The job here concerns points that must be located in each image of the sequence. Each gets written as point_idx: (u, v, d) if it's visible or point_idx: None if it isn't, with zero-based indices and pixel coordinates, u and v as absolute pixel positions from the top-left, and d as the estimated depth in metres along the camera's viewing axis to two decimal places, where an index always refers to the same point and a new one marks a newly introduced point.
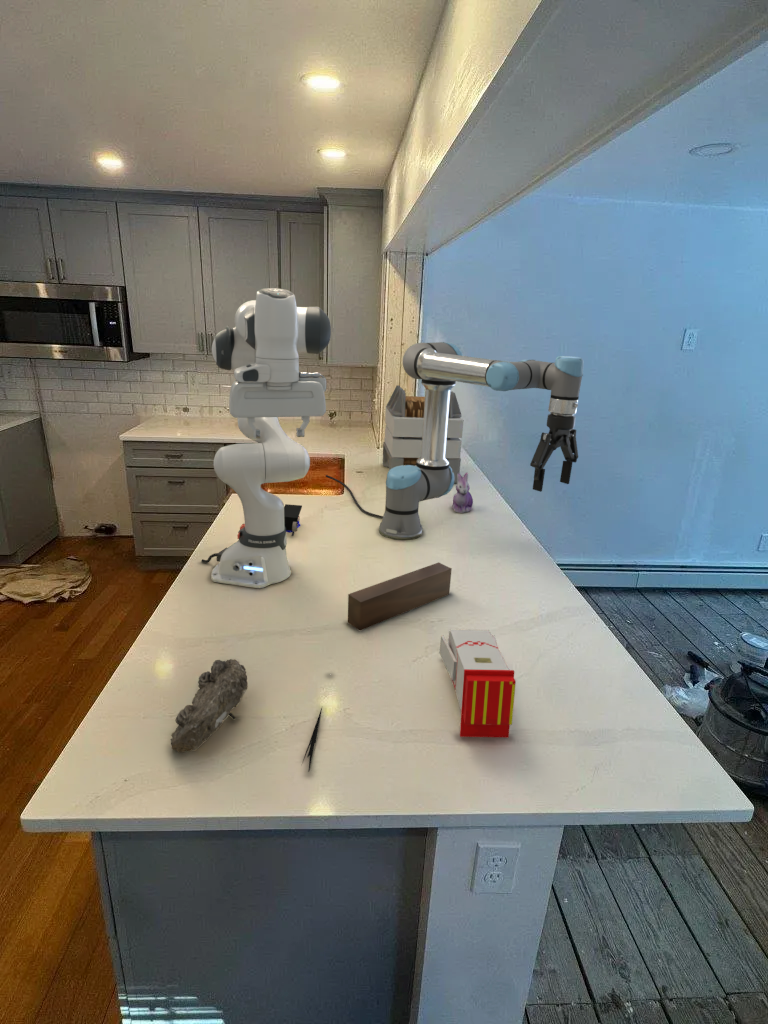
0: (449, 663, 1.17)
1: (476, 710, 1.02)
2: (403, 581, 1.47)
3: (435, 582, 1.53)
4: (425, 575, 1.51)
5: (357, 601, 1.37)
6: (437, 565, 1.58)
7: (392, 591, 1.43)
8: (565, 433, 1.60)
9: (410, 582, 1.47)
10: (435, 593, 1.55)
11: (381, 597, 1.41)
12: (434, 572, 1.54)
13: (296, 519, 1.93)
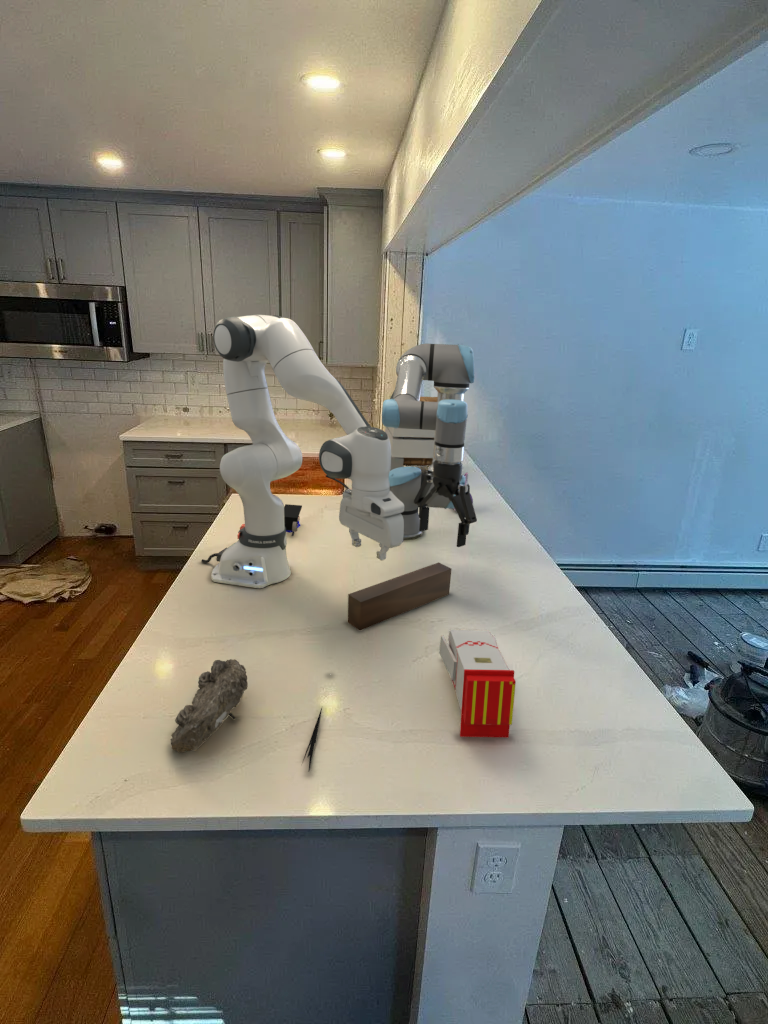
0: (449, 663, 1.17)
1: (476, 710, 1.02)
2: (403, 581, 1.47)
3: (435, 582, 1.53)
4: (425, 575, 1.51)
5: (357, 601, 1.37)
6: (437, 565, 1.58)
7: (392, 591, 1.43)
8: (447, 483, 1.46)
9: (410, 582, 1.47)
10: (435, 593, 1.55)
11: (381, 597, 1.41)
12: (434, 572, 1.54)
13: (296, 519, 1.93)
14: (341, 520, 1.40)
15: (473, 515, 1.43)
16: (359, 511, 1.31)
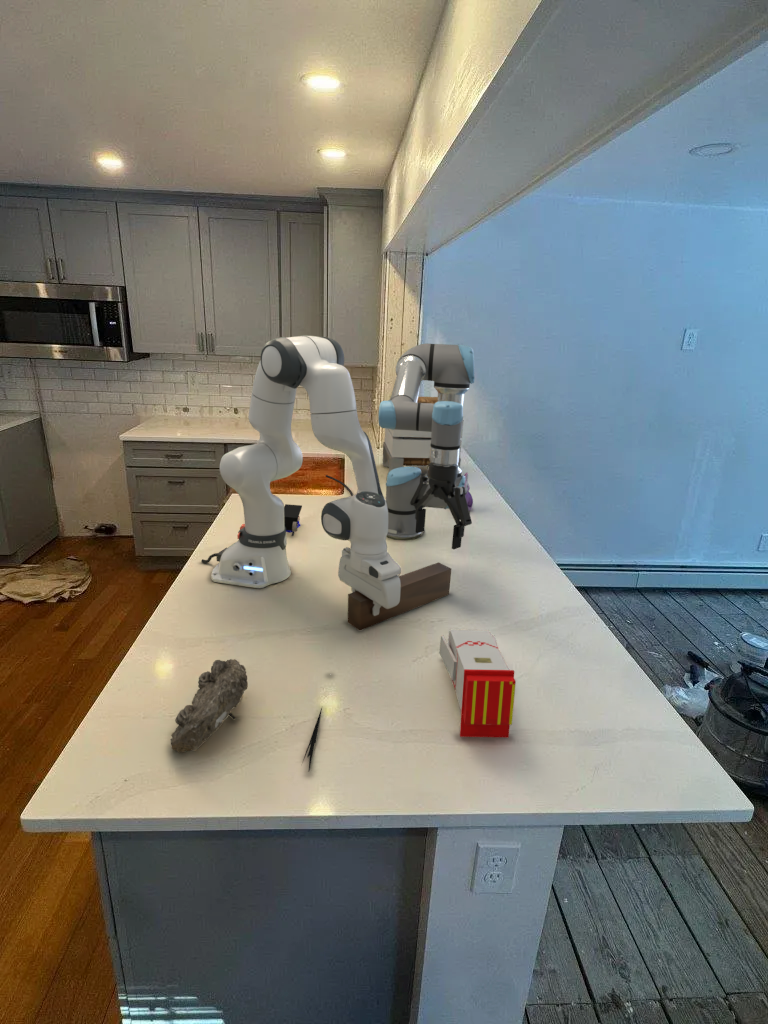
0: (449, 663, 1.17)
1: (476, 710, 1.02)
2: (403, 581, 1.47)
3: (435, 582, 1.53)
4: (425, 575, 1.51)
5: (357, 601, 1.37)
6: (437, 565, 1.58)
7: None
8: (443, 485, 1.45)
9: (410, 582, 1.47)
10: (435, 593, 1.55)
11: None
12: (434, 572, 1.54)
13: (296, 519, 1.93)
14: (340, 577, 1.45)
15: (468, 517, 1.43)
16: (357, 572, 1.36)
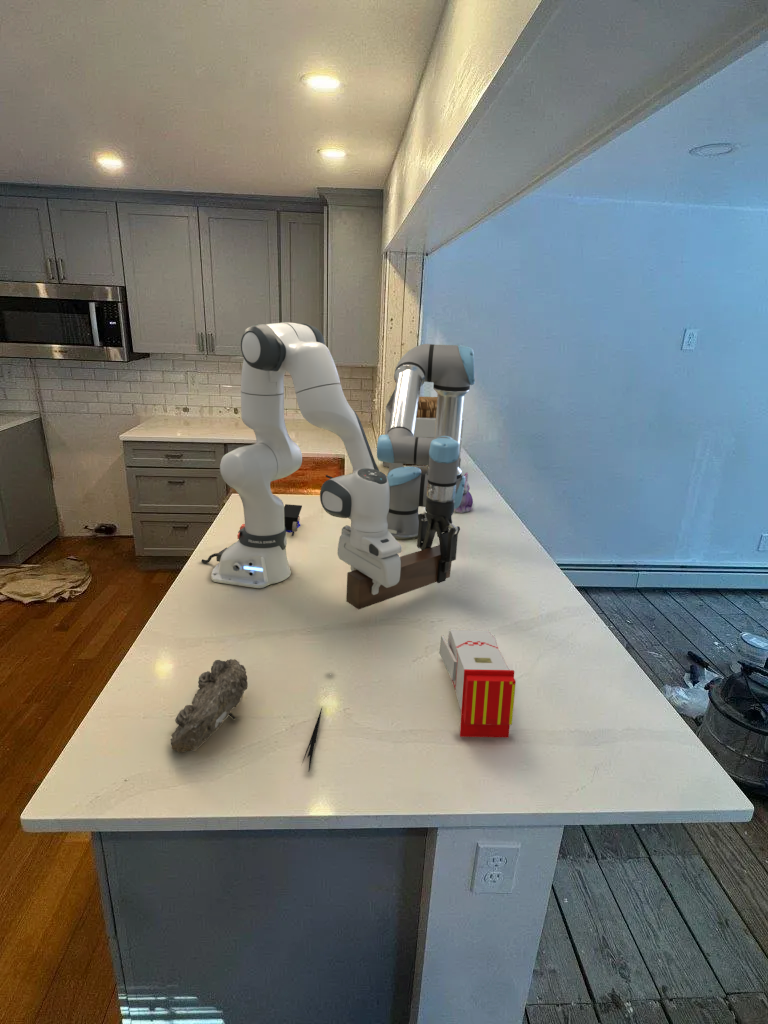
0: (449, 663, 1.17)
1: (476, 710, 1.02)
2: (403, 562, 1.46)
3: (435, 564, 1.51)
4: (426, 556, 1.50)
5: (356, 579, 1.36)
6: (438, 547, 1.56)
7: None
8: (440, 521, 1.49)
9: (410, 563, 1.46)
10: (435, 576, 1.53)
11: None
12: (435, 553, 1.52)
13: (296, 519, 1.93)
14: (339, 555, 1.43)
15: (454, 555, 1.49)
16: (357, 550, 1.35)
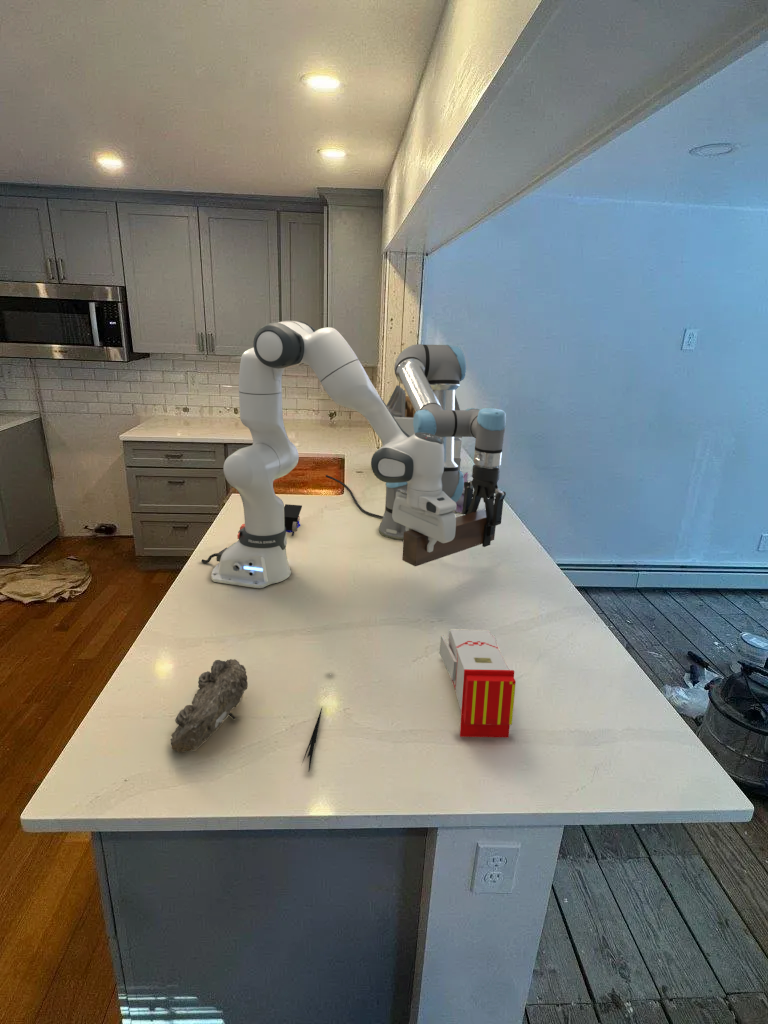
0: (449, 663, 1.17)
1: (476, 710, 1.02)
2: None
3: (482, 526, 1.60)
4: (473, 519, 1.58)
5: (413, 537, 1.44)
6: (483, 511, 1.65)
7: None
8: (487, 487, 1.57)
9: (460, 524, 1.54)
10: (481, 537, 1.61)
11: None
12: (481, 516, 1.61)
13: (296, 519, 1.93)
14: (394, 517, 1.52)
15: (499, 519, 1.58)
16: (414, 509, 1.43)
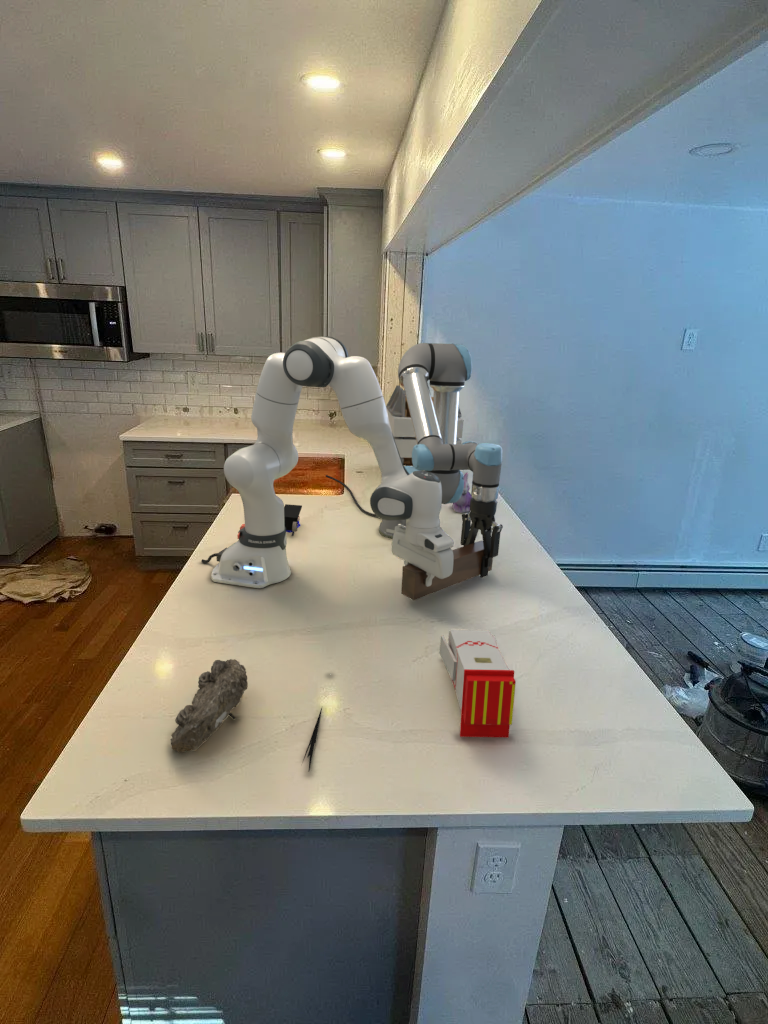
0: (449, 663, 1.17)
1: (476, 710, 1.02)
2: None
3: (479, 557, 1.63)
4: (471, 551, 1.62)
5: (412, 572, 1.48)
6: (480, 542, 1.68)
7: None
8: (484, 519, 1.61)
9: (458, 557, 1.57)
10: (479, 569, 1.65)
11: None
12: (479, 548, 1.64)
13: (296, 519, 1.93)
14: (393, 551, 1.55)
15: (496, 551, 1.62)
16: (412, 545, 1.47)
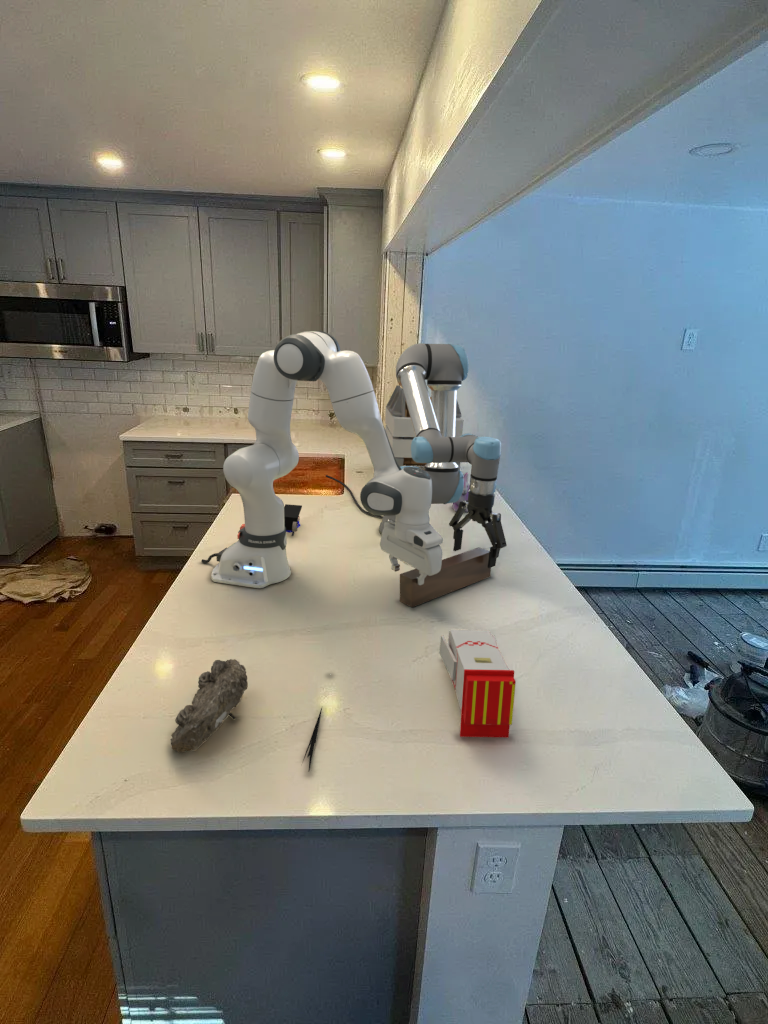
0: (449, 663, 1.17)
1: (476, 710, 1.02)
2: (448, 563, 1.59)
3: (477, 564, 1.64)
4: (468, 557, 1.63)
5: (409, 579, 1.49)
6: (478, 549, 1.69)
7: (439, 571, 1.54)
8: (481, 511, 1.63)
9: (455, 563, 1.59)
10: (477, 575, 1.66)
11: (430, 576, 1.52)
12: (476, 554, 1.65)
13: (296, 519, 1.93)
14: (382, 547, 1.55)
15: (503, 541, 1.61)
16: (401, 541, 1.46)
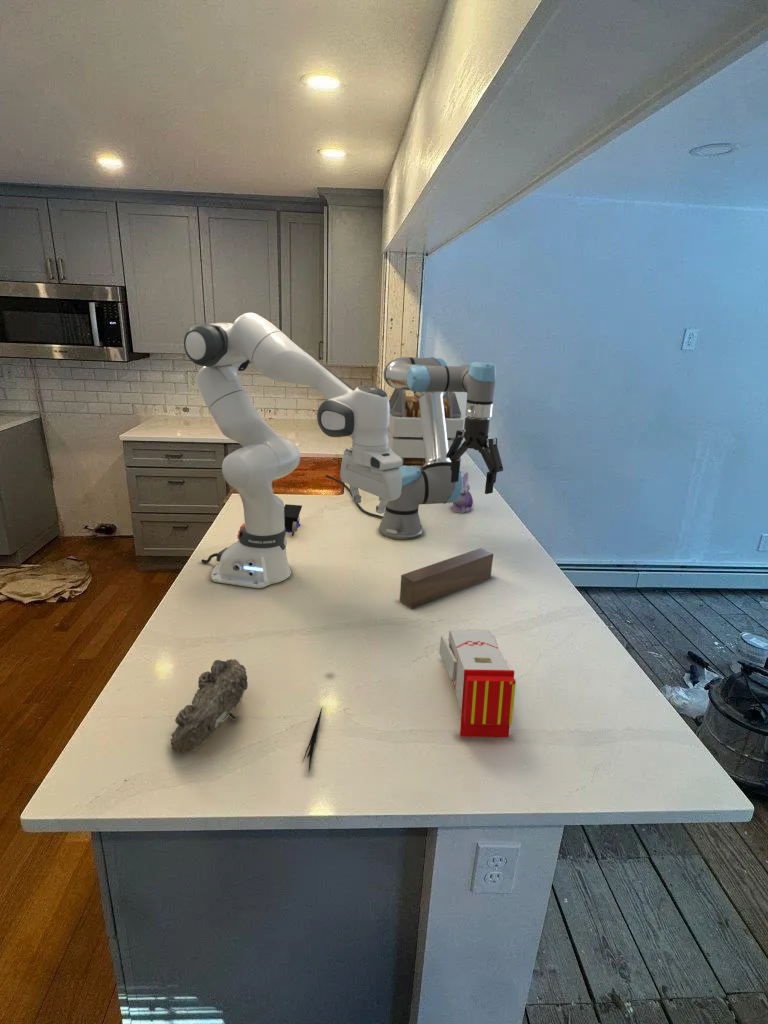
0: (449, 663, 1.17)
1: (476, 710, 1.02)
2: (450, 564, 1.58)
3: (478, 565, 1.64)
4: (470, 559, 1.62)
5: (410, 581, 1.49)
6: (479, 550, 1.69)
7: (441, 573, 1.54)
8: (477, 437, 1.65)
9: (456, 565, 1.58)
10: (478, 576, 1.66)
11: (432, 578, 1.52)
12: (478, 556, 1.65)
13: (296, 519, 1.93)
14: (342, 478, 1.46)
15: (500, 465, 1.62)
16: (359, 466, 1.38)
